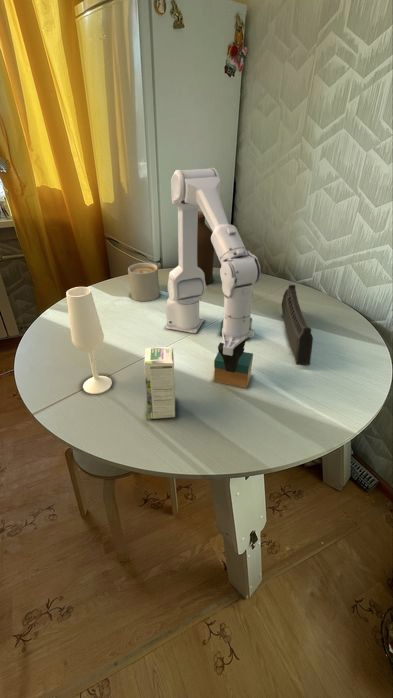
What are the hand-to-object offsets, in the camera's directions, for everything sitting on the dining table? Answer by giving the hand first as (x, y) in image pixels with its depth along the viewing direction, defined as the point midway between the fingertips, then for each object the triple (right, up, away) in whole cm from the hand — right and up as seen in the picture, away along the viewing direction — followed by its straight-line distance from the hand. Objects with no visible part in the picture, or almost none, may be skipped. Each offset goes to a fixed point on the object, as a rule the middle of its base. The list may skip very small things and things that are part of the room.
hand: (233, 363), depth 83 cm
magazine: (+19, +7, +18) cm, 27 cm away
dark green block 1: (+3, +10, +19) cm, 22 cm away
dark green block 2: (+3, +8, +20) cm, 22 cm away
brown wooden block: (0, -4, +3) cm, 5 cm away
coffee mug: (-27, +23, +43) cm, 56 cm away
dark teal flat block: (0, 0, 0) cm, 0 cm away
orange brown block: (0, -2, +1) cm, 2 cm away
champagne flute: (-32, -5, +1) cm, 33 cm away
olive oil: (-7, +30, +53) cm, 61 cm away
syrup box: (-16, -10, -6) cm, 20 cm away
